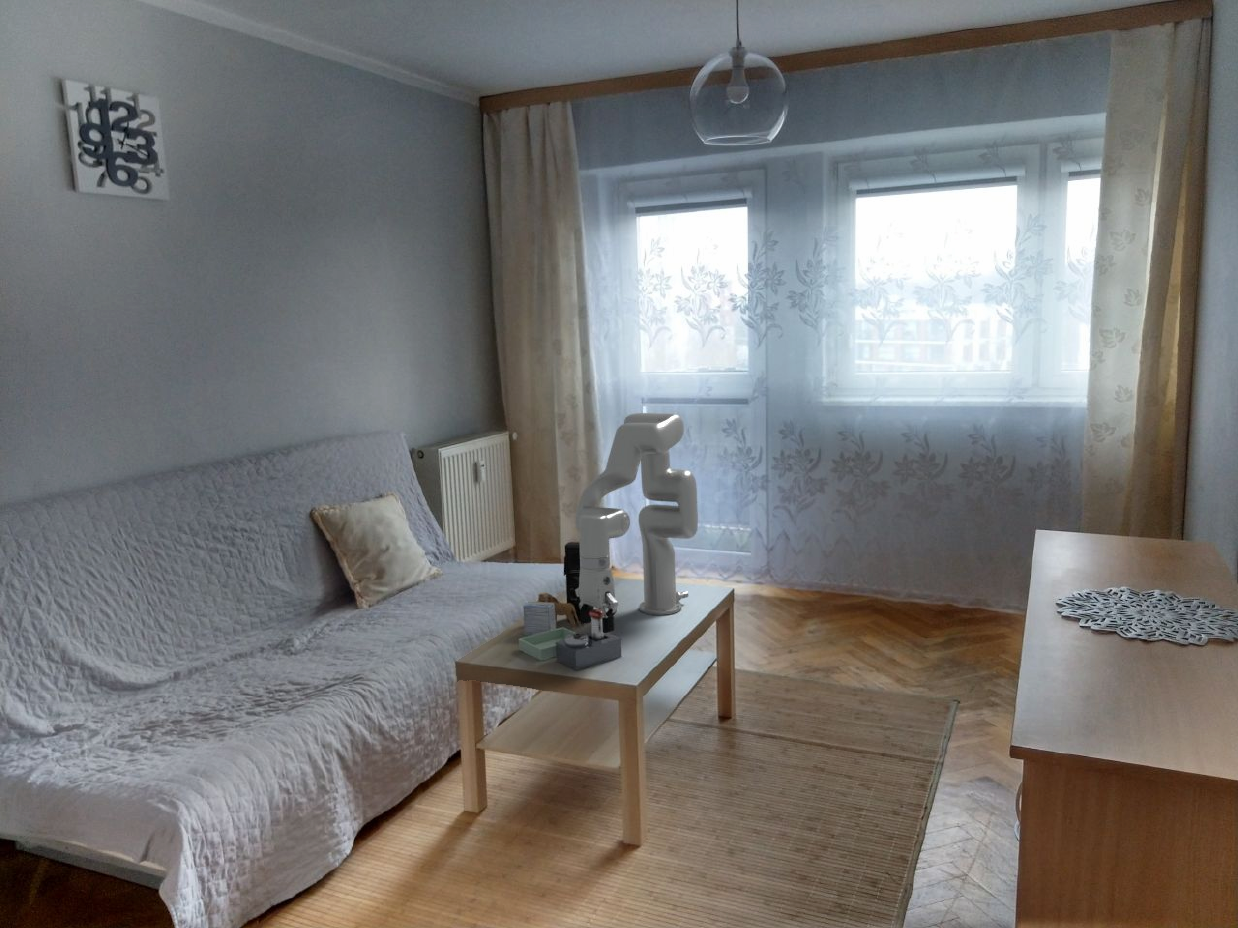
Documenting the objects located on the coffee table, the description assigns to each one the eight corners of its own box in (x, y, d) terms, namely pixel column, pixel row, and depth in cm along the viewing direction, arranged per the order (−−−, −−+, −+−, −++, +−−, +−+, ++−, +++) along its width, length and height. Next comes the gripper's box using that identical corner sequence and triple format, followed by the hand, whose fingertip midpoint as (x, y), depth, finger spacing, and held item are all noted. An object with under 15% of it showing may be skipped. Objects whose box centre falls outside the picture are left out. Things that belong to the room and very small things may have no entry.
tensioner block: (601, 647, 241) (600, 621, 240) (621, 656, 234) (620, 629, 232) (556, 660, 232) (555, 633, 231) (576, 670, 225) (575, 642, 224)
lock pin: (600, 652, 238) (598, 607, 236) (609, 656, 234) (607, 611, 233) (587, 655, 235) (586, 611, 233) (596, 659, 232) (595, 614, 230)
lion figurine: (534, 624, 262) (533, 594, 260) (543, 619, 266) (542, 589, 265) (580, 630, 255) (578, 599, 254) (588, 624, 260) (587, 594, 259)
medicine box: (556, 632, 255) (555, 602, 253) (551, 637, 250) (549, 607, 249) (530, 630, 257) (528, 601, 255) (524, 635, 252) (522, 605, 251)
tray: (563, 637, 250) (563, 627, 249) (586, 648, 241) (585, 637, 240) (519, 649, 241) (518, 638, 241) (541, 660, 233) (540, 649, 232)
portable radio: (563, 622, 263) (559, 537, 259) (569, 616, 268) (565, 533, 265) (589, 623, 261) (586, 538, 257) (594, 617, 267) (591, 533, 263)
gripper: (627, 565, 226) (629, 632, 229) (587, 553, 240) (589, 616, 243) (602, 571, 222) (605, 638, 224) (563, 558, 236) (566, 622, 238)
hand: (597, 627), depth 233 cm, fingers open, 9 cm apart
